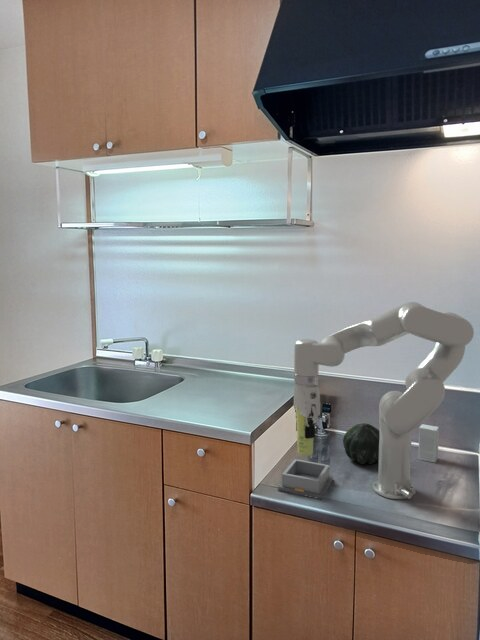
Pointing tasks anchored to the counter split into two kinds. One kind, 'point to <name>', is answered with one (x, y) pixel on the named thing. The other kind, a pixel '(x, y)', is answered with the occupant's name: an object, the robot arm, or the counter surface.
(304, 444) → the tube
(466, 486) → the counter surface
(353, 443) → the squash
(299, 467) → the socket
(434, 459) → the skincare box
